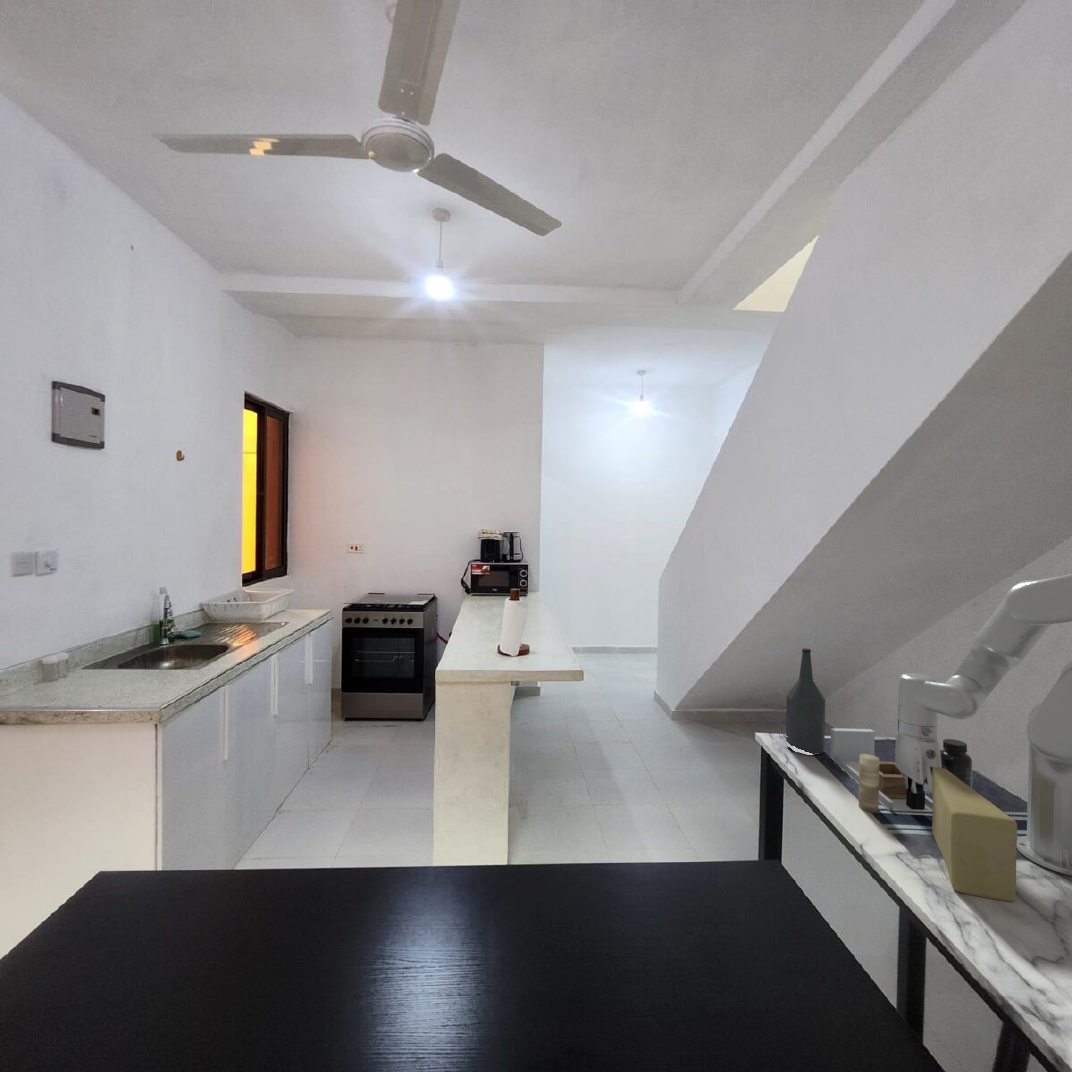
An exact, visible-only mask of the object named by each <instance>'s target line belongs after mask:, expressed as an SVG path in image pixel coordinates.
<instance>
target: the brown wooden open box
mask: <svg viewBox="0 0 1072 1072" xmlns="http://www.w3.org/2000/svg"><path fill="white" fill-rule="evenodd" d="M906 789H908V788H906V787H905V779H904V777H903V775H902V774H901V773H900V771H899V769H898V768H897V767H896V764H895V761H881V760H879V791H881V792H882V793H883V794H884V795H885V796H887V797H888V798H906Z"/></svg>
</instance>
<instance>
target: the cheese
mask: <svg viewBox="0 0 1072 1072" xmlns="http://www.w3.org/2000/svg"><path fill="white" fill-rule="evenodd" d="M931 798H932V801H933V812H932V818H931V819H932V824H931V833H932V835H933V838H934V840H935V842H936V845H937V847H938V849H939V852H940V853H941V856H942V859H943V861H944V863H945V865H946V869H947V872H948V875H949V878H950V883H951V887H952V889H953V890H954V891H956V892H957V893H961V894H966V895H969V896H970V895H971V896H977V897H982V898H986V897H987V898H988V899H991V900H992V899H993V900H998V901H1005V902H1013V901H1015V900H1016V894H1017V893H1016V892H1017V850H1018V848H1017V839H1018V824H1017V823H1018V822H1017V821H1016V820H1015V819H1014V818H1012V817H1011V816H1009V815H1008V814H1006V812H1004V811H1002V809H1000V808H999V807H997V805H995V804H993V803H992V802H991V801H990V800H988V799H987V798H986V797H984V796H983V795H981V794H980V793H979V792H977V791H976V790H974V788H973V787H972V788H970V787H969V786H968V785H966V784H965V783H964V782H962V781H961V780H960V779H958V778H957V777H956V776H955V775H953V774H952V773H951V772H949V771H948V770H946V769H944V768H939V767H934V768H933V776H932V792H931Z"/></svg>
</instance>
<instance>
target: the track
mask: <svg viewBox="0 0 1072 1072" xmlns="http://www.w3.org/2000/svg"><path fill="white" fill-rule="evenodd" d="M875 734H876V733H875V731H874V730H873V729H871V728H844V727H843V728H840V727H839V728H838V727H831V728H830V742H829V743H830V744H829V745H830V747H829V748H830V750H829V751H830V753H829V759H830V758H831V759H832V760H833V761H835V762H836V763H837V764H838V765H839V766H840V767H841V769H840V770H841V771H843V772H844V771H845V772H846V773H847V774H848V775H849V776H848V775H847V774H846V773H845V772H844V773H845V774H846V775H847V776H848V777H849V778H851V779H852V780H853V779H854V780H855V781H854V780H853V781H854V782H855V783H856V784H858V785H859V755H860V754H870V755H874V756H875V737H876V735H875ZM879 805H882V806H883V807H884V808H885V809H886V810H887V811H888V812H912V813H913V812H914V813H916V812H917V813H933V801H932V799H931V798H930V797H929V796H927V795H926V794H925V809H924V810H913V809H910V808H909V807H908V806H907V805H906V798H888V797H887V796H885V795H884V794H883V793H882V792H881V791H879Z"/></svg>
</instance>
